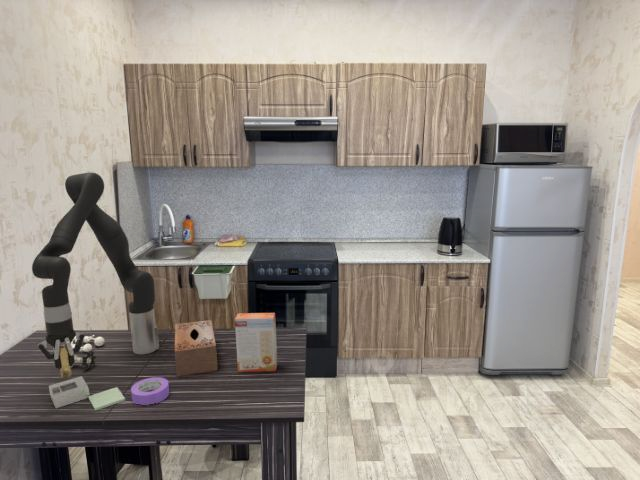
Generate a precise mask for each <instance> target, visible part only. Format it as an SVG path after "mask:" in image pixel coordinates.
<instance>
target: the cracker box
mask: <svg viewBox="0 0 640 480" xmlns="http://www.w3.org/2000/svg"><path fill="white" fill-rule="evenodd" d="M276 323H277V322H276V313H275V312H250V313H249V312H247V313H246V312H245V313H243V312H242V313H241V312H240V313H239V312H238V313H237V314H236V316H235V318H234V325H235V327H234V328H235V344H236V345H235V346H236V361H237V371H238V373H241V372H242V373H243V372H244V373H249V372H251V373H253V372H254V373H255V372H256V373H257V372H276V371H277V367H278V352H277V351H278V350H277V349H278V348H277V347H278V346H277V328H276V327H277V325H276Z"/></svg>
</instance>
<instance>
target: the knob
mask: <svg viewBox="0 0 640 480" xmlns="http://www.w3.org/2000/svg"><path fill="white" fill-rule="evenodd" d="M58 357H59V359H60V366H61V369H59V370H60V377H61V378H68V377H71V376H72V374H73V373H72V367H71V366H70V359H69V351H68V348H67V343H66V342H65V341H61V342H60V344H59V356H58Z"/></svg>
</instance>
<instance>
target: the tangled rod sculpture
mask: <svg viewBox="0 0 640 480" xmlns="http://www.w3.org/2000/svg"><path fill="white" fill-rule="evenodd" d="M84 336H85V337H84V340H83V342H82V344H83V343H86V344H84V345H83V346H81V348H80V351H79V352H81V351H83V352H86V353H87V352H92V350H93V346H92V344H90V343H89V342H91V340H92V341H94V345H95V346H97V347H102V346H103V345H104V344H105V338H104V337H103V336H97V337H95V334H93V335H91V336H88V335H87V336H86V335H84ZM94 337H95V338H94ZM76 341H77V339H76V336H75V337H74V339H73V341H72V342H71V346H72V349H73V348H74V347H75V344H76Z"/></svg>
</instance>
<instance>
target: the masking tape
mask: <svg viewBox="0 0 640 480" xmlns="http://www.w3.org/2000/svg"><path fill="white" fill-rule="evenodd" d="M169 384H170V383H169V380H168V379H167V378H165V377H157V376H156V377H148V378H145V379H141V380H139V381H137V382H136V383H134V384H133V385H132V386H131V387H130V388H131V389H130V394H131V402H132V403H133V402H134V403H136V404H141V405H147V406H150V405H149V404H153V405H155V404H154V403H156V404H159V403H161V402H163V401H164V400H166V399H167V398H168V397H169V396H170V385H169ZM151 390H152V391H151ZM158 402H159V403H158ZM134 403H133V404H134ZM136 404H135V405H136ZM141 405H140V406H141Z"/></svg>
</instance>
